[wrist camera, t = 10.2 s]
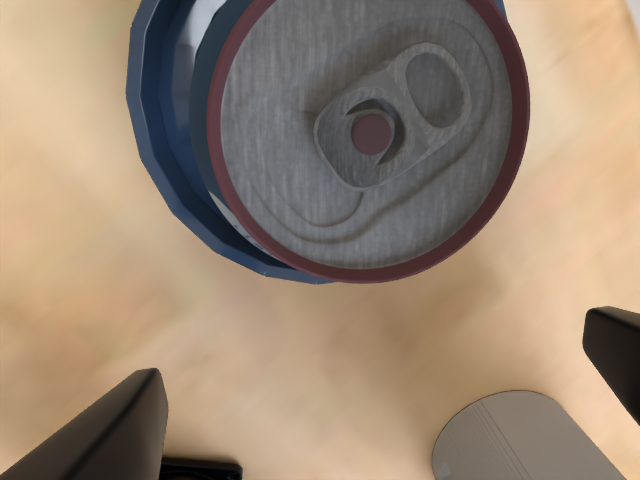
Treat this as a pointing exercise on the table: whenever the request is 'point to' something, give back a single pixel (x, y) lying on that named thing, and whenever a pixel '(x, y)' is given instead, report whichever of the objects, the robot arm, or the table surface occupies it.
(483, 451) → the cup
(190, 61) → the bowl
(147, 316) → the table surface
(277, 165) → the soda can
